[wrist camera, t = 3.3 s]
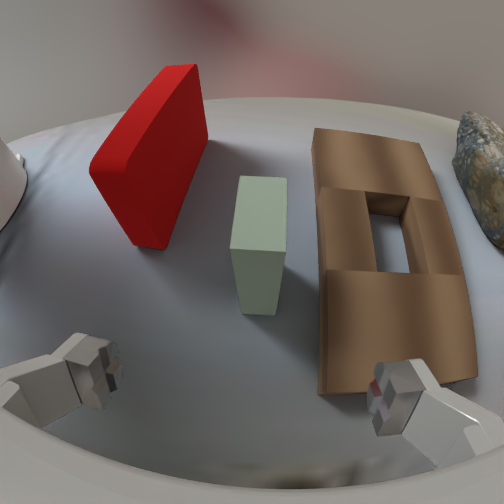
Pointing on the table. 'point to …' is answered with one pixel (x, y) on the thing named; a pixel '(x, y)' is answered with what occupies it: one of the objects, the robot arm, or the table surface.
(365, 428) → the table surface
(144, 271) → the table surface
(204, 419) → the table surface
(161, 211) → the red slab
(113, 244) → the table surface
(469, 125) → the stone
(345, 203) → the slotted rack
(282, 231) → the pale green block
